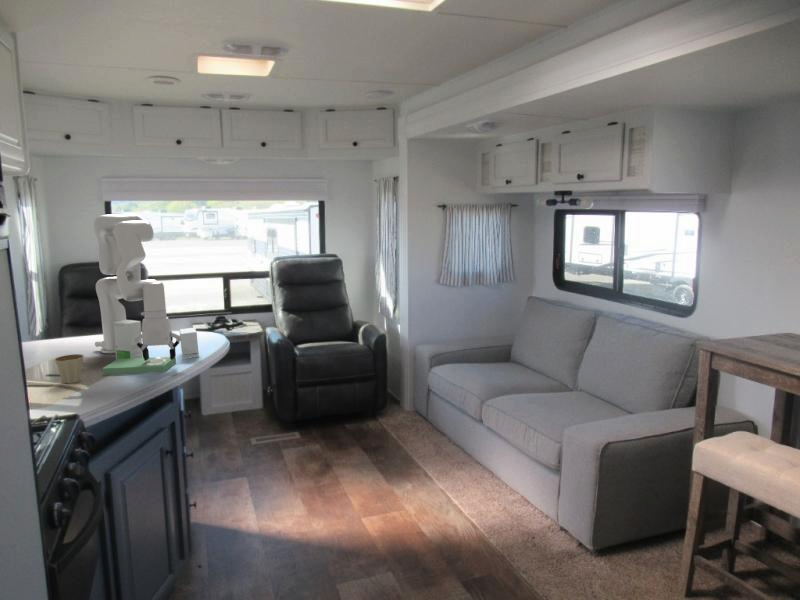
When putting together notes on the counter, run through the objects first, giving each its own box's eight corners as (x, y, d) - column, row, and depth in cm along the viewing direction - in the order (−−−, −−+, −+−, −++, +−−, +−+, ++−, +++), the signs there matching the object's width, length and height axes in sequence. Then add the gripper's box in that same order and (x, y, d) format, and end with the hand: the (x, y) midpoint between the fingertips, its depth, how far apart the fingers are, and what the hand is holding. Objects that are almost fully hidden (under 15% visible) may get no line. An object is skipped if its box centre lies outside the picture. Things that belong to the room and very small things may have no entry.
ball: (149, 365, 230) (154, 356, 230) (153, 364, 234) (157, 355, 234) (159, 370, 231) (163, 360, 231) (162, 369, 235) (167, 359, 235)
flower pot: (66, 386, 211) (63, 362, 210) (51, 382, 216) (48, 359, 215) (92, 379, 219) (89, 355, 218) (77, 376, 224) (74, 353, 223)
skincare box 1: (115, 360, 246) (111, 322, 244) (128, 356, 252) (124, 319, 250) (132, 361, 243) (128, 323, 241) (144, 357, 249) (140, 320, 247)
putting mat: (103, 374, 225) (102, 368, 225) (118, 364, 239) (118, 358, 239) (164, 372, 226) (163, 366, 226) (176, 362, 240) (175, 356, 239)
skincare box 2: (181, 353, 255) (179, 328, 254) (197, 351, 258) (195, 327, 256) (182, 359, 246) (180, 333, 244) (199, 357, 248) (197, 331, 247)
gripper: (128, 317, 226) (132, 362, 228) (175, 315, 226) (179, 360, 229) (135, 313, 233) (140, 357, 236) (182, 312, 234) (185, 355, 236)
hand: (159, 359), depth 232 cm, fingers open, 9 cm apart
